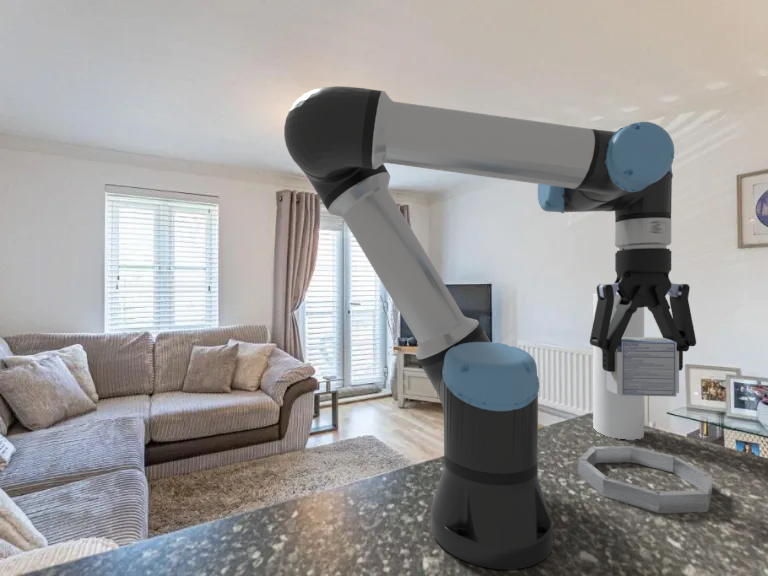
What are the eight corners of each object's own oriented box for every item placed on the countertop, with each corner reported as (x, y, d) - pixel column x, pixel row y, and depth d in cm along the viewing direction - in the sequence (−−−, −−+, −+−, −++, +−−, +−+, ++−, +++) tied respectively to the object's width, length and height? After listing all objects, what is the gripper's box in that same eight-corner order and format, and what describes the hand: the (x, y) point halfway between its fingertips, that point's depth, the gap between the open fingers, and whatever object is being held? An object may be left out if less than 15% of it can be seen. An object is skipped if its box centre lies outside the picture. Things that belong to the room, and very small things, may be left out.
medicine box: (662, 390, 67) (662, 337, 67) (677, 398, 63) (677, 341, 63) (610, 388, 68) (610, 336, 68) (621, 396, 64) (621, 340, 64)
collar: (623, 514, 57) (624, 496, 57) (563, 461, 74) (563, 447, 74) (742, 510, 58) (742, 492, 58) (655, 458, 75) (655, 445, 75)
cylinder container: (604, 421, 95) (604, 290, 94) (650, 432, 88) (651, 291, 87) (585, 430, 89) (585, 291, 88) (633, 443, 82) (633, 292, 81)
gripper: (590, 246, 61) (590, 399, 61) (727, 246, 62) (727, 396, 62) (565, 250, 68) (565, 386, 69) (688, 250, 70) (688, 384, 70)
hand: (642, 391), depth 66 cm, fingers closed on medicine box, 8 cm apart
